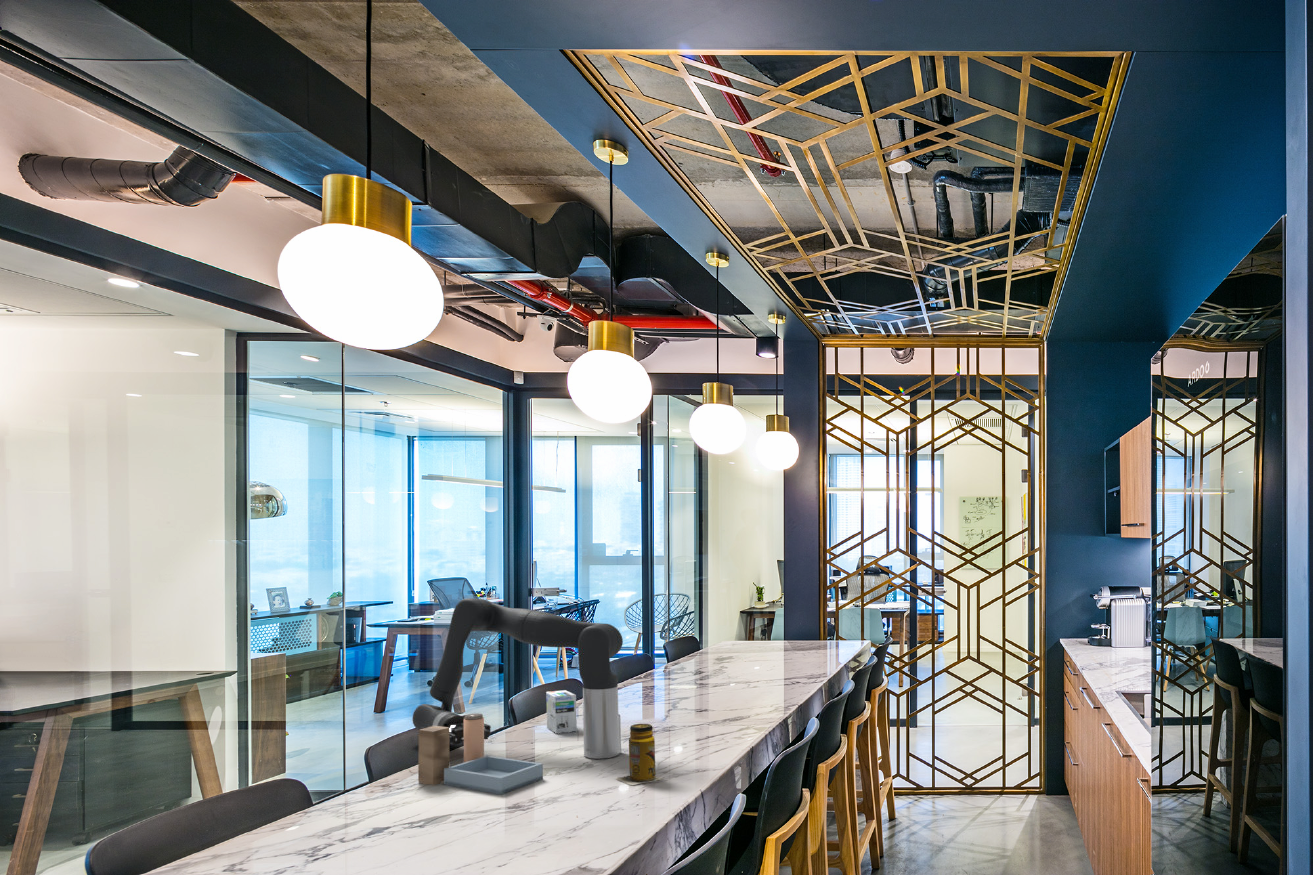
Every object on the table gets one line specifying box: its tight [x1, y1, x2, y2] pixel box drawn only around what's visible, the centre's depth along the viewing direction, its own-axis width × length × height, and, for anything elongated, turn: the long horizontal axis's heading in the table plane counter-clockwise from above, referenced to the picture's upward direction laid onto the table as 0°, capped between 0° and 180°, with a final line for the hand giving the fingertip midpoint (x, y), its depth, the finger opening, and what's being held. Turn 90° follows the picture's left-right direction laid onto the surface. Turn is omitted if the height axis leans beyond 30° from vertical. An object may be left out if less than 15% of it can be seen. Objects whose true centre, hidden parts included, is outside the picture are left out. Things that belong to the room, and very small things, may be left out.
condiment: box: [615, 723, 663, 786], centre depth 194 cm, size 7×8×12 cm
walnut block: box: [417, 726, 450, 786], centre depth 198 cm, size 5×5×12 cm
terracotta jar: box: [463, 712, 485, 763], centre depth 209 cm, size 5×5×13 cm
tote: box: [443, 755, 544, 795], centre depth 196 cm, size 14×18×4 cm
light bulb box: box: [545, 689, 578, 734], centre depth 251 cm, size 11×7×11 cm, turn 23°
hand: (470, 737), depth 211 cm, fingers open, 8 cm apart
